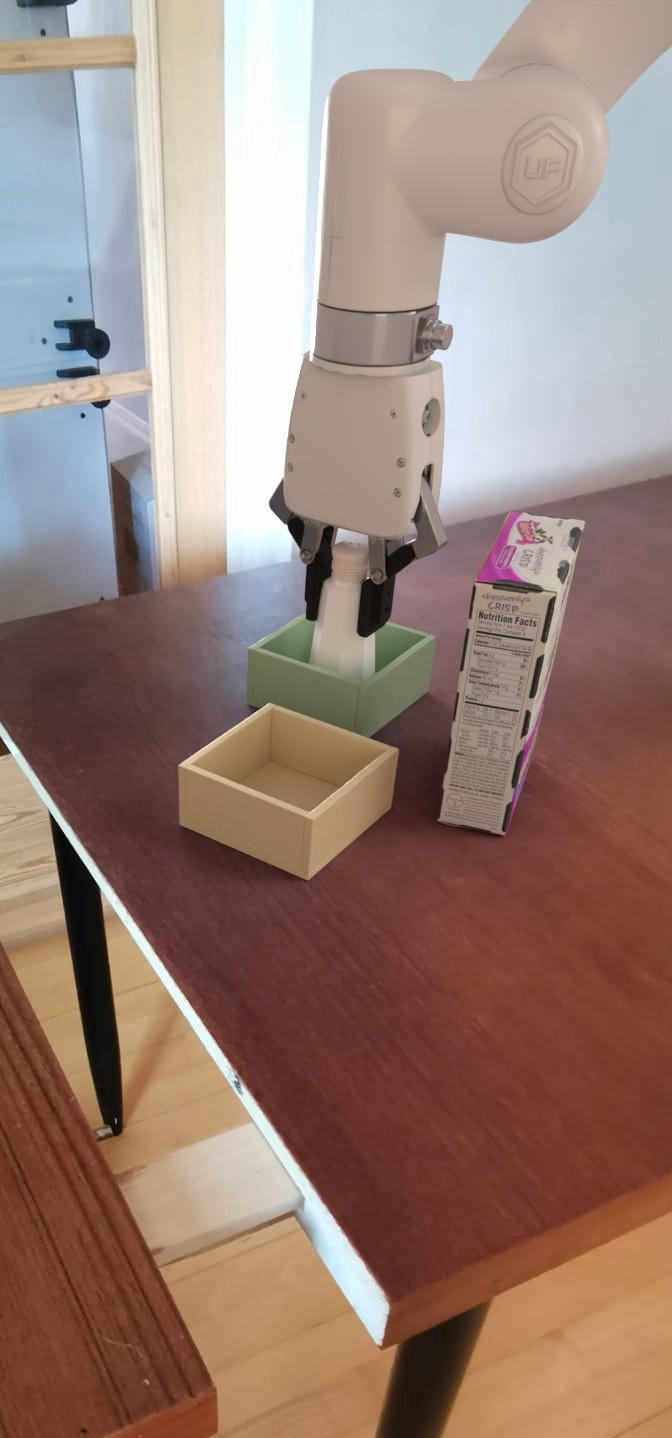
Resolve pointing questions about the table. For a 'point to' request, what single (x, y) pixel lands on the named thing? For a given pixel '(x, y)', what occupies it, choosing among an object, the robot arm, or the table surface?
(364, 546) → the pepper shaker
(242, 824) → the cream bin
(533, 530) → the candy bar box
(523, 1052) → the table surface
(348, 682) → the green bin
